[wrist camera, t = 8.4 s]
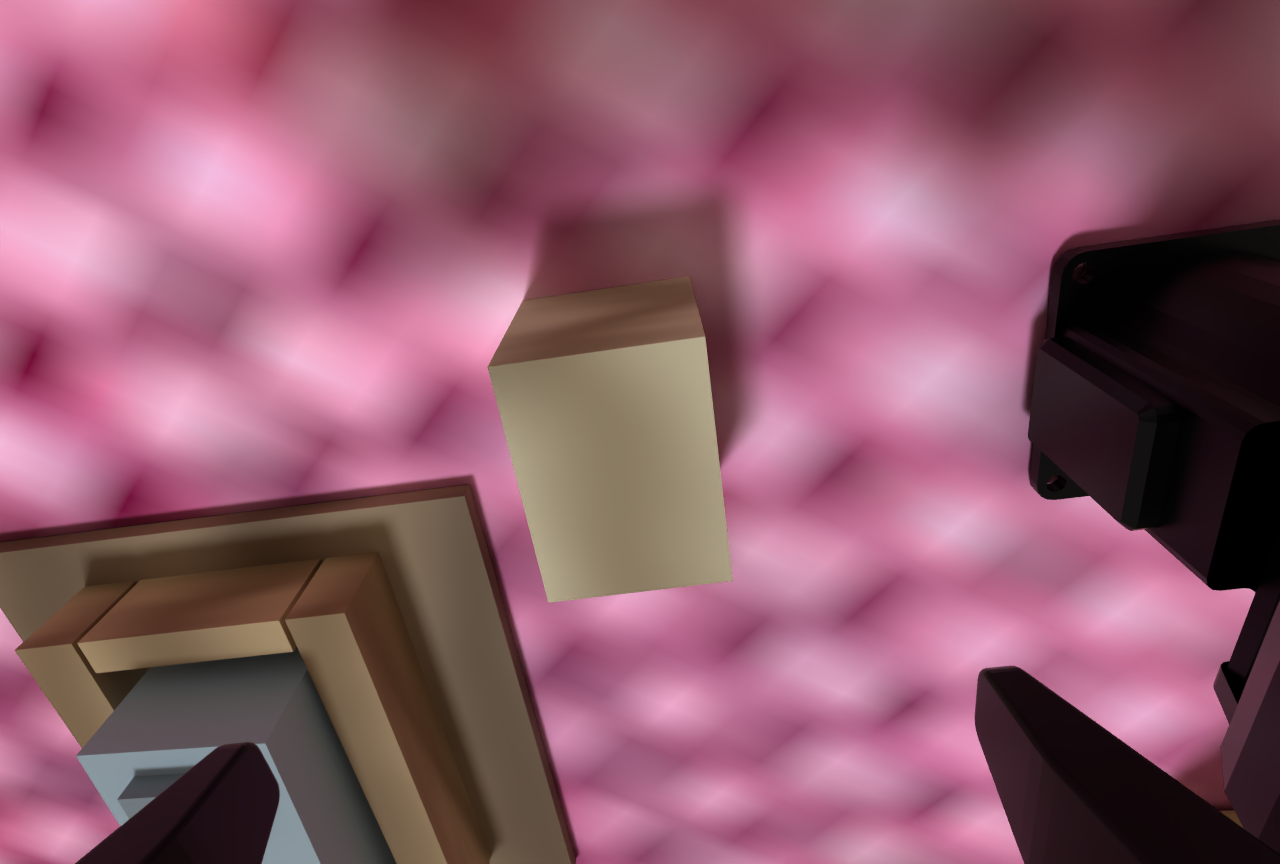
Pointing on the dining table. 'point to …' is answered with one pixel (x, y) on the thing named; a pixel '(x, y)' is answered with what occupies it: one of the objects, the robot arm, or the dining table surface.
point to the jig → (319, 650)
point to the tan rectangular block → (614, 439)
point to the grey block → (235, 713)
